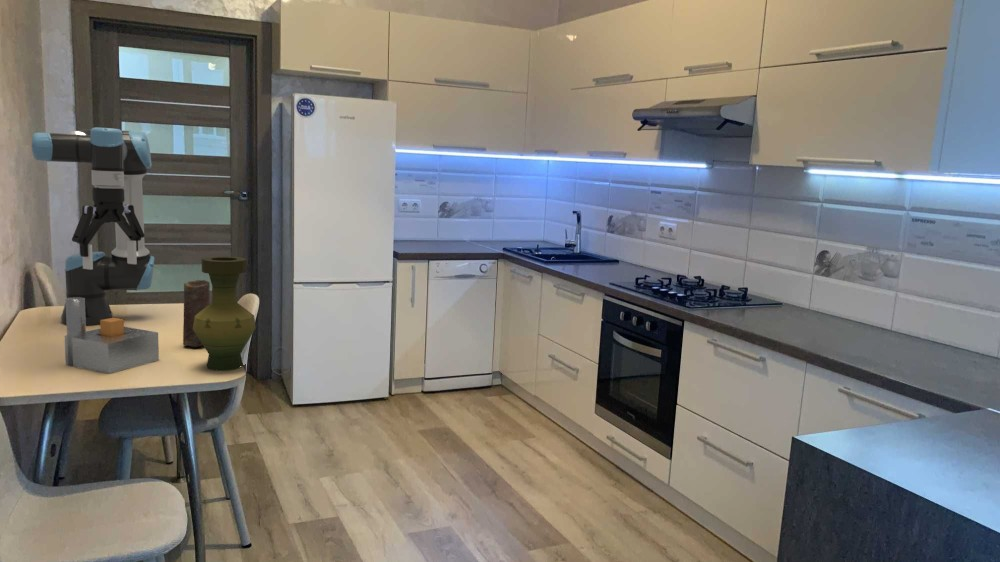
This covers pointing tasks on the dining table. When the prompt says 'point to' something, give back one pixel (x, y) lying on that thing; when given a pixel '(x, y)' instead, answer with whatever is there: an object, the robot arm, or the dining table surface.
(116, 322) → the orange rectangular block
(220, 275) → the vase
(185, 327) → the candle
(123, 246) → the robot arm
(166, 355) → the dining table surface
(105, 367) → the grey block with cylinder
